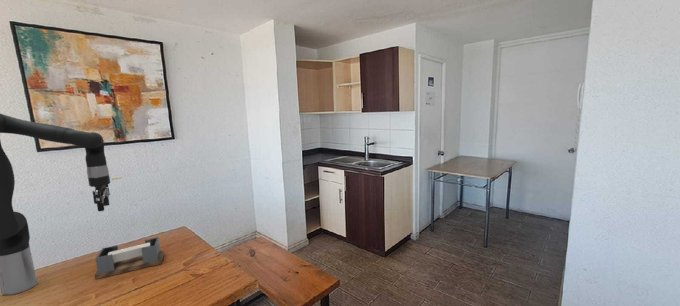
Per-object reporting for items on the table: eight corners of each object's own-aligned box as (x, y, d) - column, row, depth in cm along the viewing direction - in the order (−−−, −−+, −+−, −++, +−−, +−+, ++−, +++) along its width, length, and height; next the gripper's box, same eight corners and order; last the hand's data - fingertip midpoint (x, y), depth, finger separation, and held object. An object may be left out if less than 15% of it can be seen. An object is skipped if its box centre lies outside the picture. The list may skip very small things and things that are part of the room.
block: (108, 264, 125) (107, 256, 125) (109, 260, 128) (108, 252, 128) (151, 253, 134) (149, 245, 134) (150, 249, 137) (149, 242, 137)
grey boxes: (98, 274, 122) (95, 258, 121) (104, 262, 131) (102, 248, 130) (158, 260, 132) (156, 245, 131) (160, 250, 141) (158, 237, 140)
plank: (95, 279, 121) (94, 275, 121) (102, 267, 131) (101, 263, 131) (161, 263, 133) (161, 259, 132) (163, 253, 142) (163, 249, 142)
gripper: (93, 173, 133) (98, 205, 135) (82, 179, 120) (88, 214, 123) (112, 171, 136) (117, 202, 138) (104, 177, 123) (109, 211, 126)
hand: (104, 208), depth 130 cm, fingers open, 8 cm apart
